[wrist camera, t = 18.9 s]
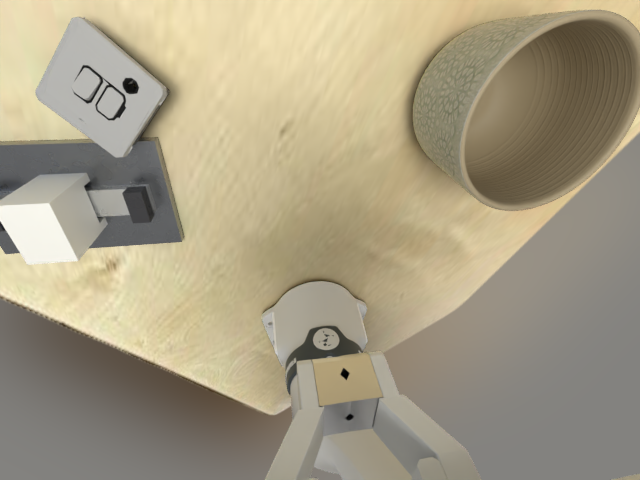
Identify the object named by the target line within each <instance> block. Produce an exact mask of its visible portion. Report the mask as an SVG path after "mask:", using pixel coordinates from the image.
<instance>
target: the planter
mask: <svg viewBox="0 0 640 480" xmlns="http://www.w3.org/2000/svg"><path fill="white" fill-rule="evenodd" d="M639 107H640V33H639V31H638V30H637V28H636V27H635V26H634V25H633V24H632V23H631V22H630V21H629V20H627V19H626V18H624V17H623V16H621V15H619V14H616V13H613V12H610V11H604V10H578V11H567V12H558V13H549V14H541V15H533V16H526V17H518V18H508V19H501V20H496V21H492V22H488V23H484V24H481V25H478V26H476V27H473V28H471V29H469V30H467V31H465V32H463V33H462V34H460V35H459V36H457V37H456V38H454V39H453V40H451V41H450V42H449V43H448V44H447V45H446V46H445V47H443V48H442V49H441V51H440V52H439V53H438V54H437V55H436V56H435V57H434V59H433V60H432V61H431V63H430V64H429V65H428V67H427V69H426V70H425V72H424V74H423V76H422V78H421V80H420V82H419V85H418V88H417V91H416V94H415V98H414V104H413V126H414V131H415V134H416V137H417V140H418V142H419V144H420V146H421V148H422V149H423V151H424V152H425V154H426V155H427V156H428V157H429V158H430V159H431V160H432V161H433V162H434V163H435V164H436V165H437V166H438V167H439V168H441V169H442V170H443V171H444V172H445V173H446V174H447V175H449V176H450V177H451V178H452V179H453V180H454V181H455V182H456V183H458V184H459V185H460V186H461V187H462V188H463V189H465V190H466V191H467V192H468V193H469V194H471V195H472V196H473V197H474V198H476V199H477V200H479V201H480V202H482V203H483V204H485V205H487V206H489V207H492V208H495V209H499V210H505V211H519V210H526V209H531V208H535V207H538V206H541V205H544V204H547V203H549V202H552V201H554V200H556V199H558V198H560V197H562V196H563V195H565V194H567V193H568V192H570V191H572V190H573V189H575V188H576V187H577V186H579V185H580V184H581V183H583V182H584V181H585V180H586V179H588V178H589V177H590V176H591V175H592V174H593V173H594V172H596V171H597V170H598V169H599V168H600V167H601V166H602V165H603V163H604V162H605V161H606V160H607V159H608V158H609V157H610V156H611V154H612V153H613V152H614V151H615V149H616V148H617V147H618V145H619V144H620V143H621V141H622V140H623V138H624V137H625V135H626V133H627V132H628V130H629V128H630V127H631V125H632V123H633V121H634V119H635V117H636V115H637V112H638V110H639Z"/></svg>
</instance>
